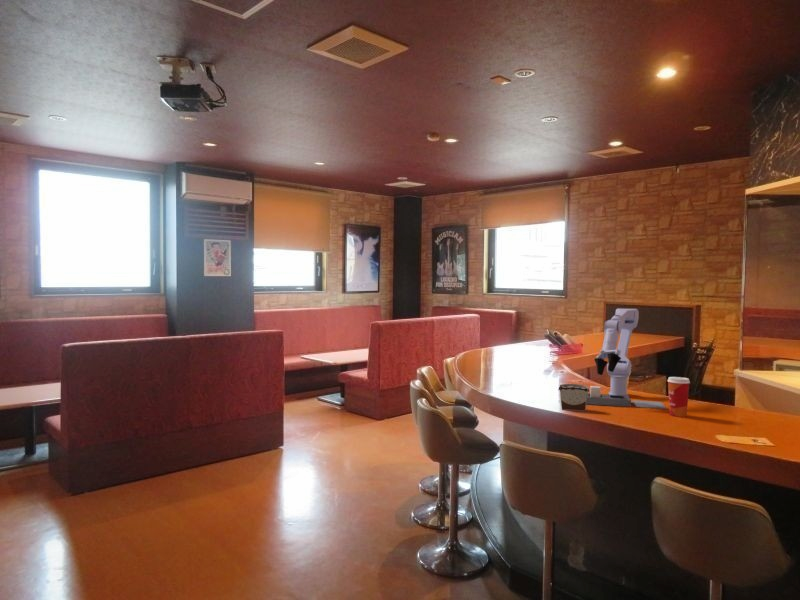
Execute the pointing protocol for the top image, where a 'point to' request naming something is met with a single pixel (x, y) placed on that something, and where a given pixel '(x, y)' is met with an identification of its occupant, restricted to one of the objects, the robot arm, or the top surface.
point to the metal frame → (609, 400)
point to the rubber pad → (648, 404)
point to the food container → (573, 397)
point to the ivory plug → (595, 391)
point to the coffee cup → (678, 396)
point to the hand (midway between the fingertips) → (605, 372)
